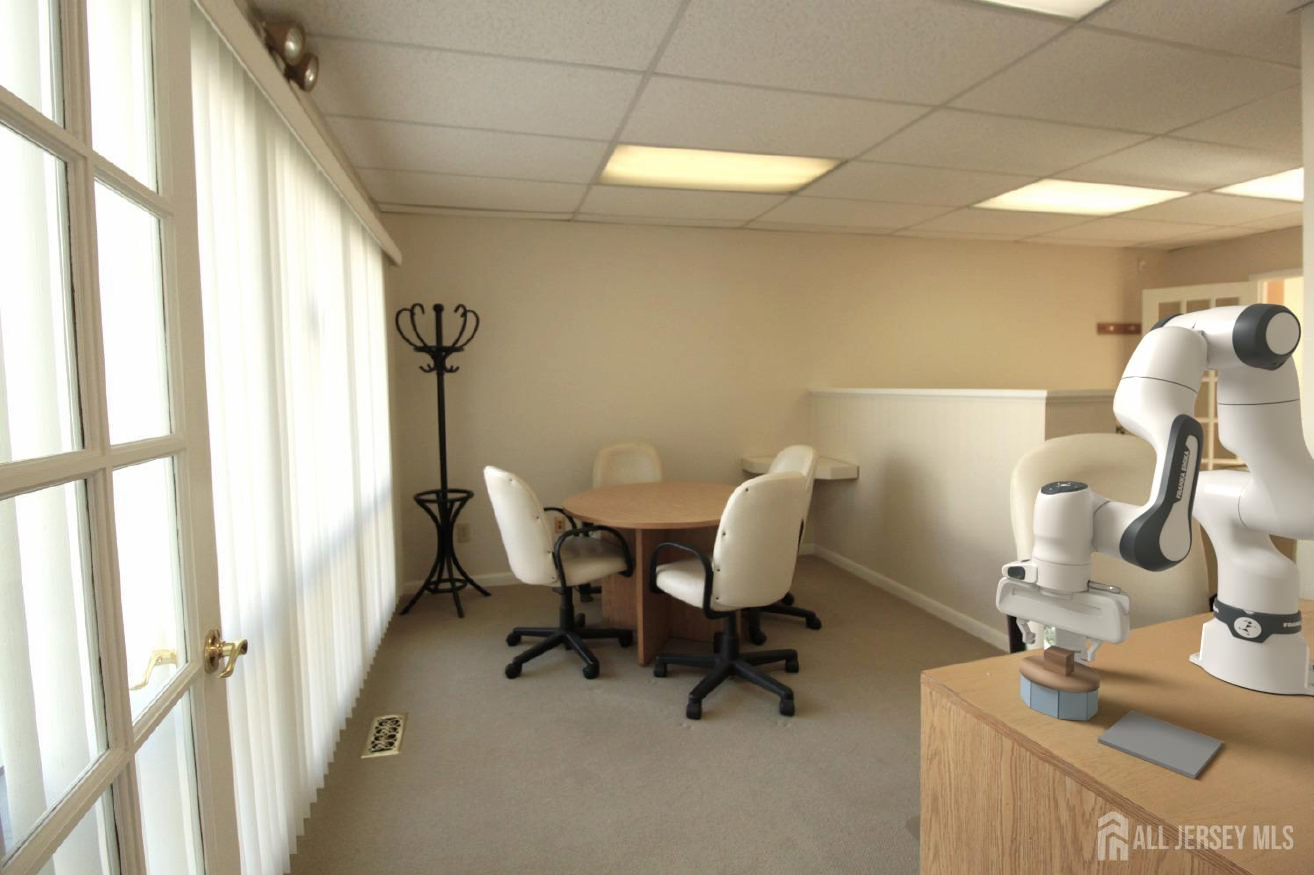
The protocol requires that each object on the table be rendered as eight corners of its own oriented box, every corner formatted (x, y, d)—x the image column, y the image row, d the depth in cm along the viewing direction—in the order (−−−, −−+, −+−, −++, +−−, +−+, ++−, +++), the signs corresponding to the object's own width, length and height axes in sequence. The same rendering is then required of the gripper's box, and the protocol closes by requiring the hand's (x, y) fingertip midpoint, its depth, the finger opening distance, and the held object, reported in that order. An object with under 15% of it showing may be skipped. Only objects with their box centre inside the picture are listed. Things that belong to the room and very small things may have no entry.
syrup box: (1087, 677, 121) (1089, 604, 120) (1053, 675, 122) (1055, 603, 121) (1073, 664, 126) (1075, 594, 125) (1041, 662, 127) (1043, 593, 126)
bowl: (1039, 683, 119) (1039, 658, 118) (1105, 706, 110) (1106, 678, 110) (1011, 701, 113) (1011, 674, 112) (1079, 726, 104) (1080, 697, 103)
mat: (1131, 713, 108) (1131, 710, 107) (1222, 744, 98) (1223, 741, 98) (1097, 741, 99) (1097, 738, 99) (1194, 779, 90) (1194, 775, 90)
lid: (1037, 656, 119) (1038, 632, 119) (1111, 678, 110) (1112, 652, 109) (1006, 674, 112) (1007, 648, 112) (1082, 700, 103) (1083, 672, 102)
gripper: (1138, 586, 103) (1134, 667, 104) (1009, 559, 119) (1007, 629, 121) (1124, 593, 99) (1120, 678, 100) (992, 564, 116) (990, 637, 117)
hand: (1057, 651), depth 111 cm, fingers open, 8 cm apart
